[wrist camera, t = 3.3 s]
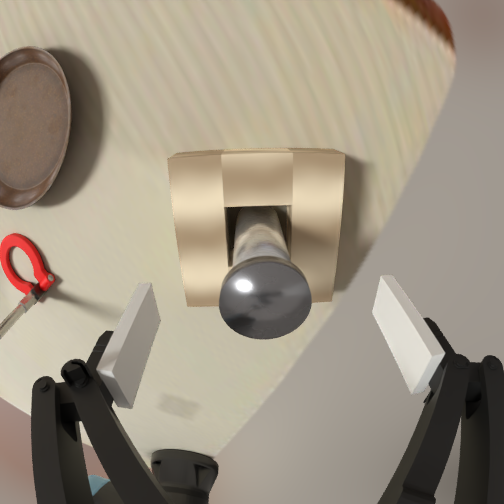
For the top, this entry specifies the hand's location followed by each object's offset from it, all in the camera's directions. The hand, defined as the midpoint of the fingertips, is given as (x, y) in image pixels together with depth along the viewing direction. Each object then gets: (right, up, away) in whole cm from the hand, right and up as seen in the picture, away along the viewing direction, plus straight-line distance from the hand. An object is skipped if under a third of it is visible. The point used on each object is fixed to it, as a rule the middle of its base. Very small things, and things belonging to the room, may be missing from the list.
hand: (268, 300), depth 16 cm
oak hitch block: (0, +6, +12) cm, 13 cm away
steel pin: (0, +6, +12) cm, 13 cm away
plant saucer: (-26, +17, +6) cm, 31 cm away
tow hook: (-30, +1, +14) cm, 33 cm away
